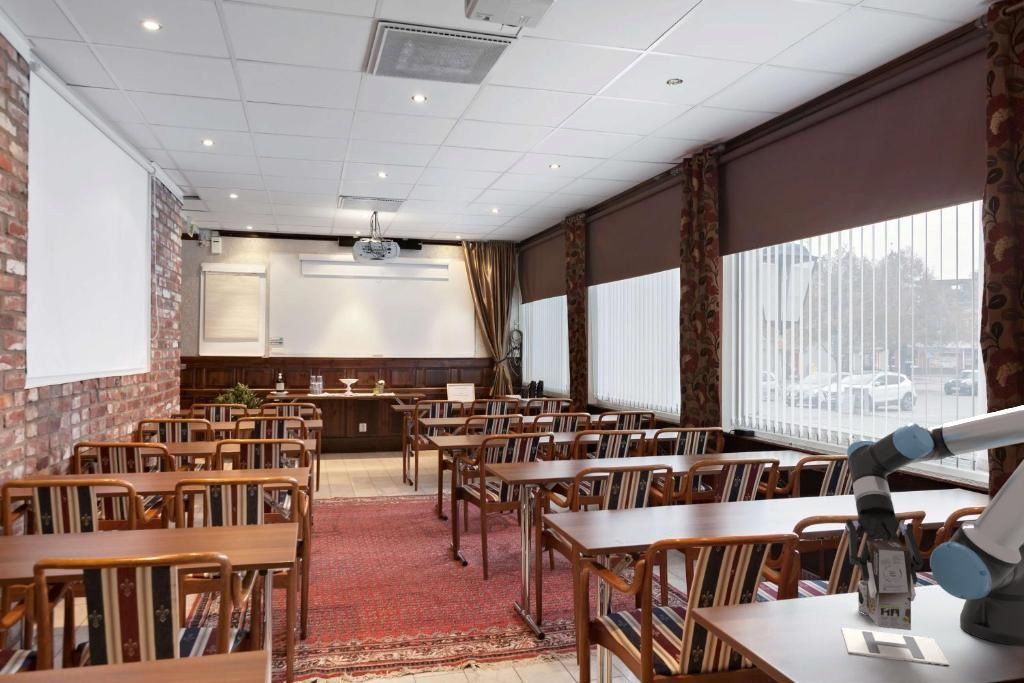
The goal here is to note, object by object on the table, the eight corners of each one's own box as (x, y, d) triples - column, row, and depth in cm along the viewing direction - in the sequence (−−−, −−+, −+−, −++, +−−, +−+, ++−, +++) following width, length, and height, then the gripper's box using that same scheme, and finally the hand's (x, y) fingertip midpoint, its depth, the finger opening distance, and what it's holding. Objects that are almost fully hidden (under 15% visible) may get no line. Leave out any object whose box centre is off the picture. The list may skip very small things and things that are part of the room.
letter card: (933, 640, 154) (933, 637, 154) (949, 666, 141) (949, 663, 141) (841, 629, 160) (841, 627, 160) (848, 653, 147) (848, 651, 147)
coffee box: (912, 630, 146) (912, 551, 146) (878, 628, 147) (878, 549, 148) (898, 615, 155) (897, 539, 155) (865, 612, 156) (865, 538, 156)
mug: (861, 606, 175) (860, 578, 176) (891, 611, 172) (891, 583, 172) (853, 617, 167) (853, 589, 167) (885, 624, 163) (885, 594, 164)
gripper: (917, 513, 164) (941, 609, 148) (825, 508, 169) (839, 600, 153) (924, 494, 159) (950, 591, 143) (829, 489, 164) (844, 583, 148)
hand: (892, 596), depth 148 cm, fingers closed on coffee box, 7 cm apart
